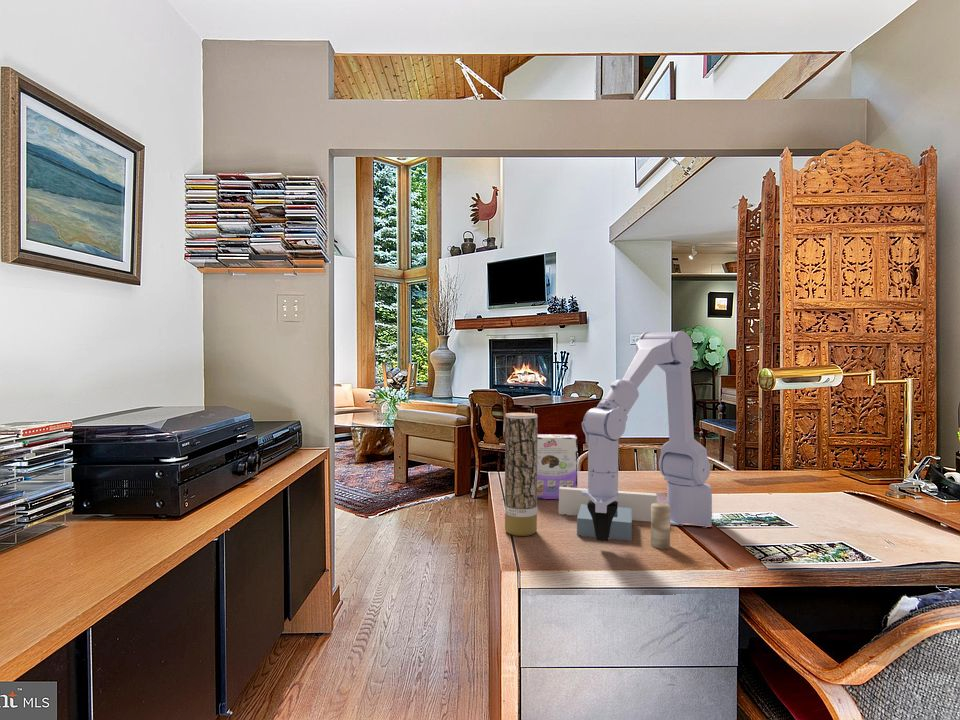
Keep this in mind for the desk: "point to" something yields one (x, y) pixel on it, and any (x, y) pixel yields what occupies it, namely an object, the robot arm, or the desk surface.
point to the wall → (635, 500)
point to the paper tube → (521, 473)
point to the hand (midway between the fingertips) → (602, 539)
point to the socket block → (619, 525)
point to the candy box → (555, 464)
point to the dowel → (660, 525)
